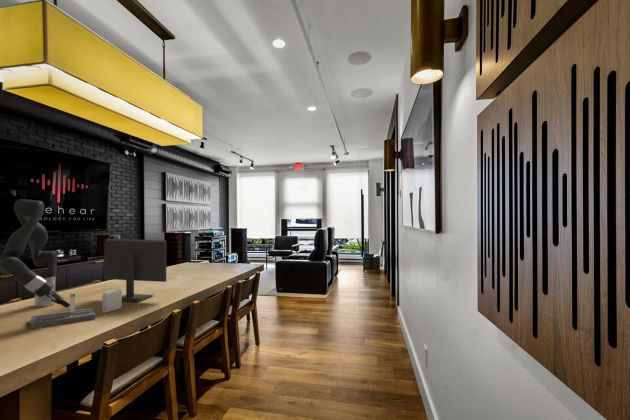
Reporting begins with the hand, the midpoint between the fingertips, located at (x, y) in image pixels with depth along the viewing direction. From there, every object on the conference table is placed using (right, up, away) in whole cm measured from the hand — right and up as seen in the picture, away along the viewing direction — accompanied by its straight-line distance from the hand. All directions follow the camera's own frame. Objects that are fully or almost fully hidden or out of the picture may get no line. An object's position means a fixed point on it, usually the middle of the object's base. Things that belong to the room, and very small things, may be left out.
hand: (68, 306), depth 164 cm
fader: (+1, -4, +1) cm, 4 cm away
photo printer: (+12, -8, +16) cm, 22 cm away
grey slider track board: (-1, -7, -1) cm, 7 cm away
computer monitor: (+9, -9, +43) cm, 45 cm away
